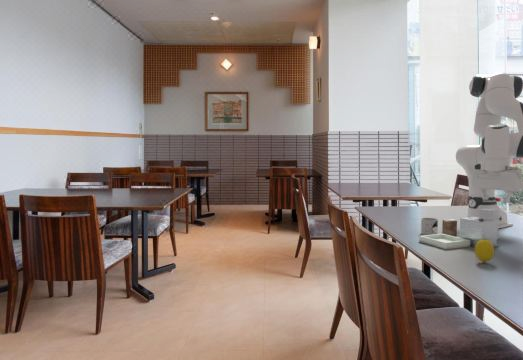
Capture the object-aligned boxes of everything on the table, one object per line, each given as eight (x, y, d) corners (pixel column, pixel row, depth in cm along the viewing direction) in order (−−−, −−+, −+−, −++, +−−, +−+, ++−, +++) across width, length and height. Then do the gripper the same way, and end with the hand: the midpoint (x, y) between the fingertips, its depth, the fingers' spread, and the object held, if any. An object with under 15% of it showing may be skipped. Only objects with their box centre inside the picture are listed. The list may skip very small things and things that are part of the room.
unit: (474, 240, 170) (475, 214, 169) (499, 246, 160) (500, 218, 159) (457, 242, 167) (457, 215, 166) (481, 248, 156) (482, 220, 156)
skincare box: (499, 239, 173) (500, 209, 172) (491, 240, 171) (492, 210, 170) (485, 236, 179) (486, 208, 178) (478, 237, 177) (479, 208, 176)
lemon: (470, 260, 140) (471, 237, 139) (486, 260, 140) (487, 236, 140) (480, 265, 134) (481, 240, 134) (497, 264, 135) (498, 240, 134)
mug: (435, 236, 181) (436, 220, 180) (419, 234, 184) (419, 219, 184) (440, 232, 189) (440, 217, 188) (424, 230, 192) (424, 216, 192)
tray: (442, 239, 174) (442, 233, 173) (470, 246, 161) (470, 240, 160) (419, 241, 169) (419, 235, 169) (445, 249, 156) (446, 242, 156)
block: (449, 235, 181) (449, 218, 181) (456, 237, 178) (457, 220, 177) (442, 236, 180) (442, 219, 179) (449, 238, 176) (449, 220, 176)
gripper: (527, 166, 156) (526, 203, 157) (480, 164, 175) (479, 197, 176) (515, 167, 154) (514, 204, 155) (469, 165, 173) (468, 198, 174)
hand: (495, 201), depth 166 cm, fingers open, 8 cm apart
